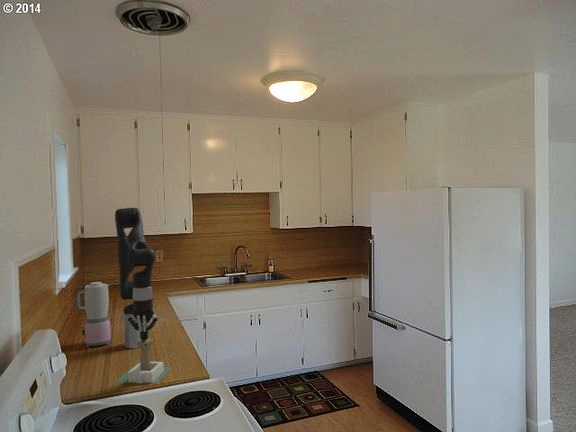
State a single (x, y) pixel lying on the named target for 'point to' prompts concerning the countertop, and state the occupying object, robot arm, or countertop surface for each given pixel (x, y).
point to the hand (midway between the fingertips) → (144, 340)
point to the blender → (96, 314)
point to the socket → (146, 373)
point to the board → (125, 379)
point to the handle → (145, 354)
